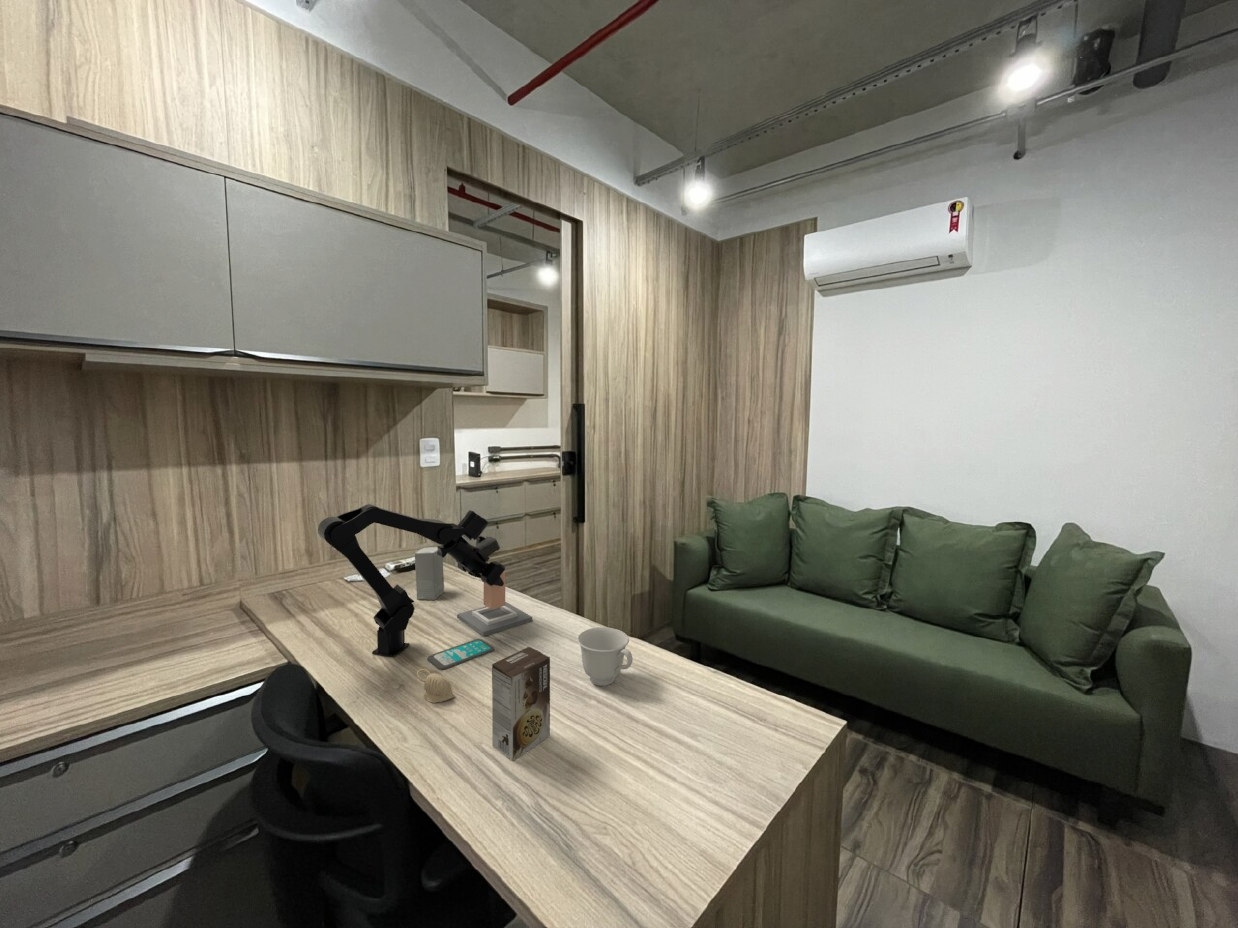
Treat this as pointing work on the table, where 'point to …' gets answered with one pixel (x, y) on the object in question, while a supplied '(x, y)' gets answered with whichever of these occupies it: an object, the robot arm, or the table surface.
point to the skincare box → (429, 573)
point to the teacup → (604, 653)
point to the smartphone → (460, 654)
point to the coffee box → (520, 702)
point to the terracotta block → (495, 594)
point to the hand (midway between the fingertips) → (498, 582)
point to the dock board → (494, 618)
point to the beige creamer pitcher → (436, 687)
